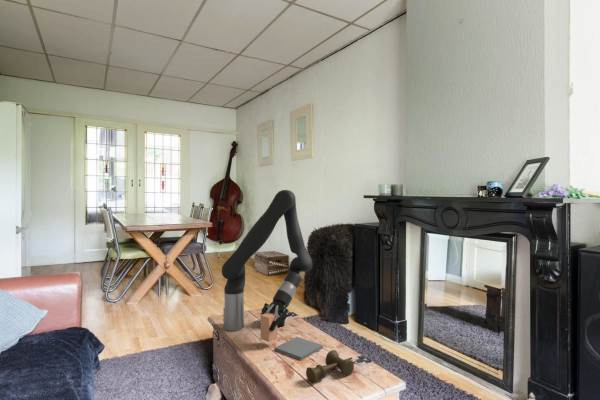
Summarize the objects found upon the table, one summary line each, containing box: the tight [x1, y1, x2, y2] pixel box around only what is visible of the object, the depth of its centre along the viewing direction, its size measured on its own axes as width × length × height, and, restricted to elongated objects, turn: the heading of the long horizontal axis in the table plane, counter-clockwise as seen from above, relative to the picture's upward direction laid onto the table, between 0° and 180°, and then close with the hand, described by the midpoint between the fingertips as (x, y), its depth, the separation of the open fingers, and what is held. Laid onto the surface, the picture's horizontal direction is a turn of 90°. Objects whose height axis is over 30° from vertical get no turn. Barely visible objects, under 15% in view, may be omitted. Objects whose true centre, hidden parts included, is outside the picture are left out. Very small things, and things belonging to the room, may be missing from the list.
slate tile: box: [274, 336, 324, 361], centre depth 138 cm, size 14×14×1 cm
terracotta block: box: [259, 312, 278, 343], centre depth 143 cm, size 5×5×10 cm
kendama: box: [305, 349, 355, 385], centre depth 118 cm, size 6×10×20 cm
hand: (265, 328), depth 141 cm, fingers closed on terracotta block, 5 cm apart
